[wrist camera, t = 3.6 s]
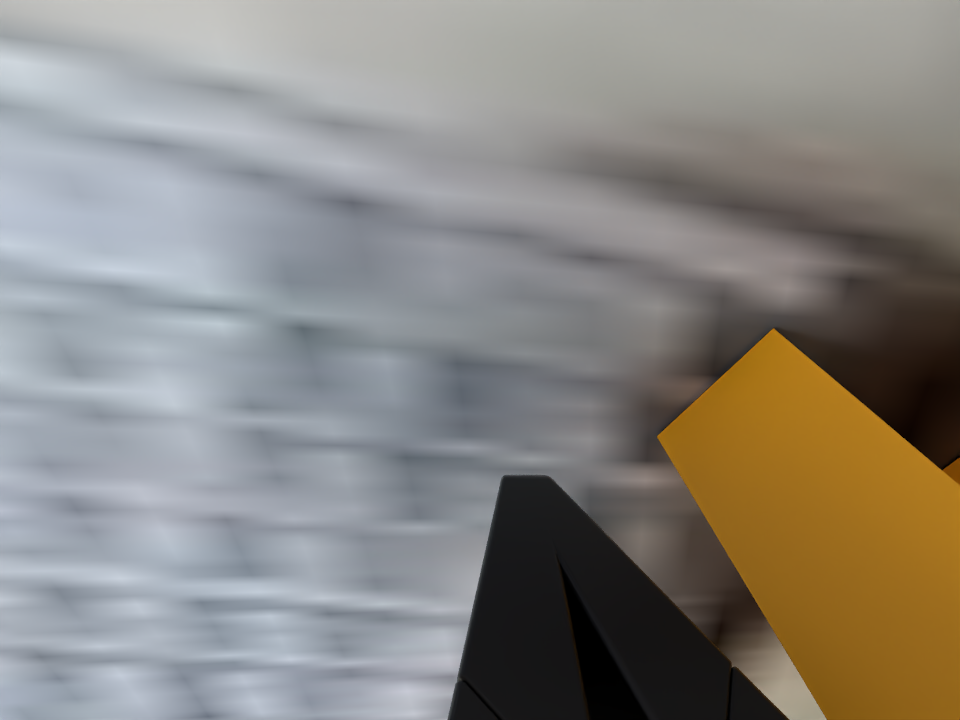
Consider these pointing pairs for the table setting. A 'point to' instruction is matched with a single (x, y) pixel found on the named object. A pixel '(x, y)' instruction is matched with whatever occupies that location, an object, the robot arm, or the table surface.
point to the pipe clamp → (831, 532)
